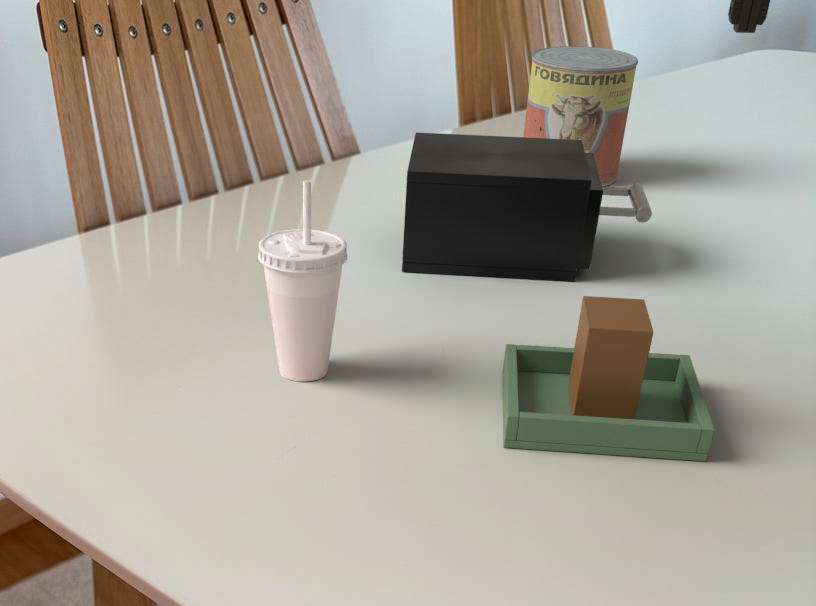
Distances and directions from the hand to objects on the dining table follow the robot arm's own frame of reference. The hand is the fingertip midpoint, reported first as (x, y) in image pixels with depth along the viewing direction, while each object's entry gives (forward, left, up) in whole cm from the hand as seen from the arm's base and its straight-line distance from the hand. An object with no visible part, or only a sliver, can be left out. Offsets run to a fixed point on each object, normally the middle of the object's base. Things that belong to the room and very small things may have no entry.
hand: (744, 30), depth 87 cm
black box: (+19, 0, -19) cm, 27 cm away
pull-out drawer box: (+15, 0, -18) cm, 24 cm away
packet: (+11, +32, -19) cm, 39 cm away
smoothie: (+33, +28, -19) cm, 48 cm away
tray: (+11, +32, -19) cm, 39 cm away
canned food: (+10, -27, -19) cm, 34 cm away
